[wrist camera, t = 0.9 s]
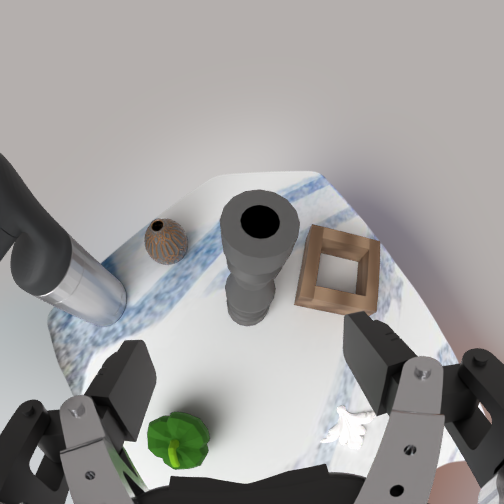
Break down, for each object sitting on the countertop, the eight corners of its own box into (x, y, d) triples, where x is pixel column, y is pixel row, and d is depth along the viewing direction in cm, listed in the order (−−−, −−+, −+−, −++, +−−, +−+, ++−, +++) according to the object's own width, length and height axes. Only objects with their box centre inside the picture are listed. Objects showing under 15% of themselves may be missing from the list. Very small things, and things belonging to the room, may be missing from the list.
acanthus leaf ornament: (374, 410, 35) (379, 411, 33) (360, 448, 32) (365, 450, 30) (333, 402, 36) (337, 403, 34) (319, 441, 33) (322, 444, 31)
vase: (172, 277, 44) (157, 255, 36) (145, 255, 45) (126, 230, 37) (198, 247, 46) (189, 219, 38) (170, 227, 48) (157, 198, 40)
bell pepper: (163, 402, 35) (139, 408, 26) (216, 413, 35) (207, 425, 26) (157, 449, 31) (134, 466, 22) (210, 461, 31) (200, 484, 22)
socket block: (294, 304, 42) (299, 295, 38) (306, 239, 47) (312, 224, 43) (363, 318, 41) (376, 311, 37) (369, 254, 46) (380, 241, 42)
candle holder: (273, 296, 43) (313, 204, 20) (258, 332, 40) (286, 276, 18) (237, 281, 44) (238, 176, 21) (220, 316, 41) (200, 240, 18)
